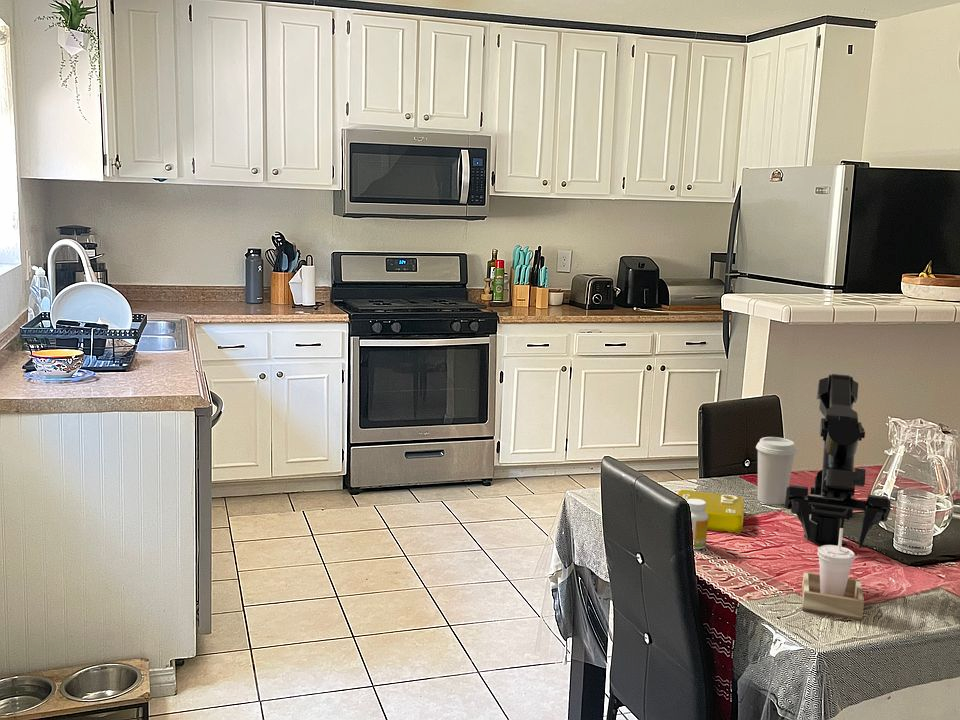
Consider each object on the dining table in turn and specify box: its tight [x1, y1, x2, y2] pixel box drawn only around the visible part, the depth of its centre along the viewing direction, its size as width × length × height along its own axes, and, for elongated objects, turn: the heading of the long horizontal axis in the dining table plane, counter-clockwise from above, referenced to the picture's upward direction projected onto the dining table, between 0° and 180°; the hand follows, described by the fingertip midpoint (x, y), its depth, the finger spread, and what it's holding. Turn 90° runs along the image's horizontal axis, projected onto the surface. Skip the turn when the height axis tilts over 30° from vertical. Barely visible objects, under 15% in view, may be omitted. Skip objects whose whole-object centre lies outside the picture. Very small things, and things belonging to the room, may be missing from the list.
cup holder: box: [801, 570, 865, 621], centre depth 170 cm, size 10×10×4 cm
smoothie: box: [816, 528, 856, 597], centre depth 169 cm, size 6×6×14 cm
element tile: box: [677, 489, 745, 533], centre depth 212 cm, size 15×15×5 cm
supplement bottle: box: [687, 499, 708, 550], centre depth 195 cm, size 5×5×10 cm
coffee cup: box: [755, 436, 798, 506], centre depth 225 cm, size 10×10×15 cm
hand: (834, 543), depth 174 cm, fingers open, 9 cm apart
